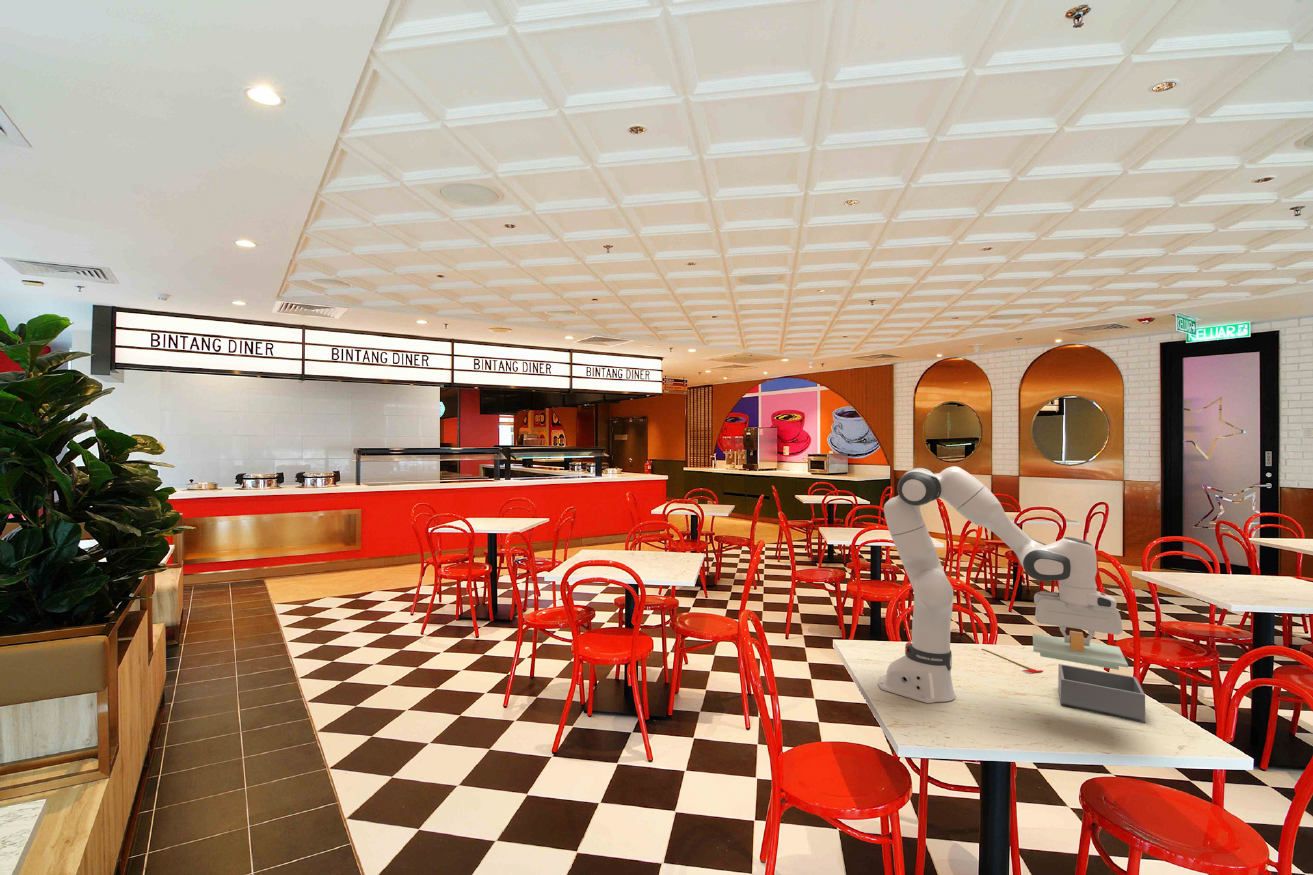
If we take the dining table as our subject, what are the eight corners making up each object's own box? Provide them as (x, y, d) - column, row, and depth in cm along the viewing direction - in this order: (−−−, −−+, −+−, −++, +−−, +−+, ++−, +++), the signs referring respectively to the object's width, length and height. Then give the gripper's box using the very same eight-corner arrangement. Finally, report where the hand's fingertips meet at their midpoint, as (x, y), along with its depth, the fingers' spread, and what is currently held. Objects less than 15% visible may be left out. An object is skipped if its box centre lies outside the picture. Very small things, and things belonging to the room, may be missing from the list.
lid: (1033, 656, 166) (1033, 634, 166) (1032, 640, 181) (1032, 620, 181) (1127, 673, 155) (1128, 649, 155) (1119, 654, 170) (1119, 632, 170)
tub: (1060, 705, 180) (1061, 679, 180) (1058, 688, 194) (1058, 663, 194) (1144, 722, 170) (1145, 694, 170) (1135, 703, 183) (1136, 677, 183)
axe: (1022, 675, 206) (1050, 675, 206) (1022, 672, 206) (1050, 673, 206) (980, 650, 231) (1005, 650, 231) (980, 648, 231) (1005, 648, 232)
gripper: (1034, 591, 171) (1033, 639, 171) (1123, 603, 160) (1122, 654, 160) (1033, 587, 176) (1033, 634, 176) (1120, 598, 166) (1119, 647, 165)
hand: (1076, 643), depth 168 cm, fingers closed on lid, 3 cm apart
